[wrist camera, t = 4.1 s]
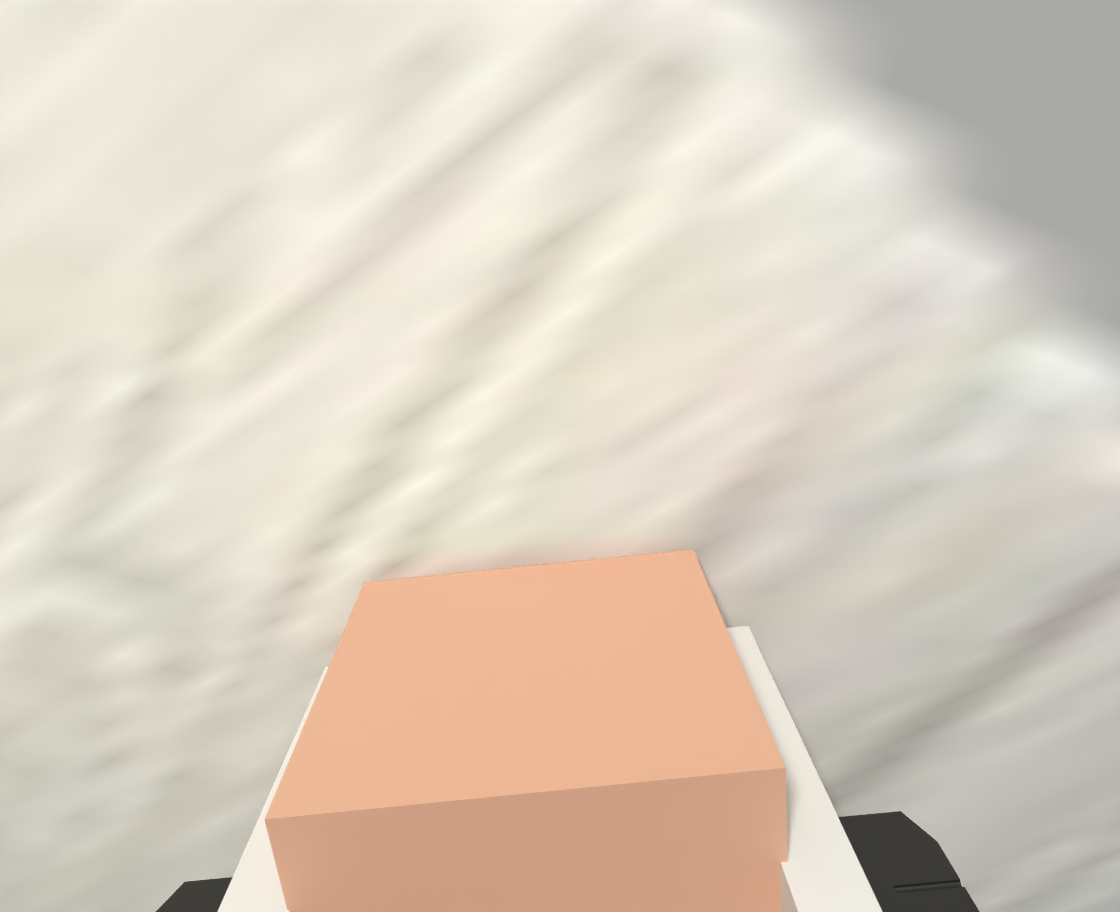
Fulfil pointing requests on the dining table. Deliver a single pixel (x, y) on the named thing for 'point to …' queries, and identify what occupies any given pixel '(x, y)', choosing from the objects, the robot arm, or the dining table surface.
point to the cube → (535, 750)
